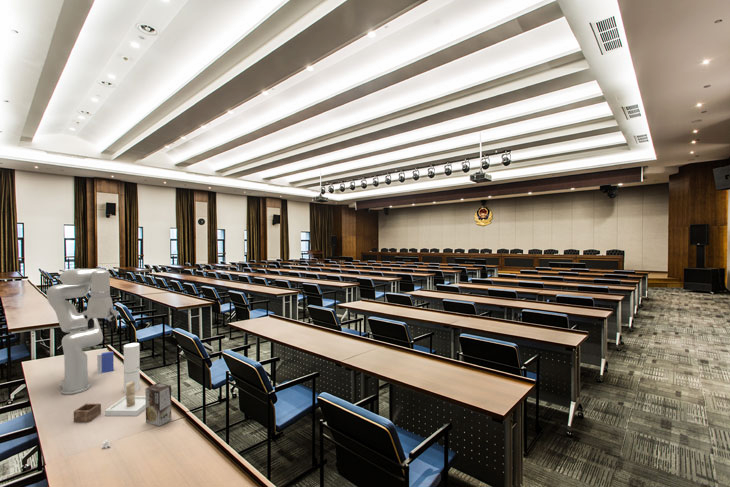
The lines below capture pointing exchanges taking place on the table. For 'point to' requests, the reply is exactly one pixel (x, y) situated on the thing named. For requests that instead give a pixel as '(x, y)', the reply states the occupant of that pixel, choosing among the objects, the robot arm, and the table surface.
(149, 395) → the coffee box
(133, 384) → the dowel
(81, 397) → the table surface
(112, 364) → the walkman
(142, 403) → the tray
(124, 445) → the table surface
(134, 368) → the cylindrical container
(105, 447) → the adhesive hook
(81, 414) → the square wooden box
